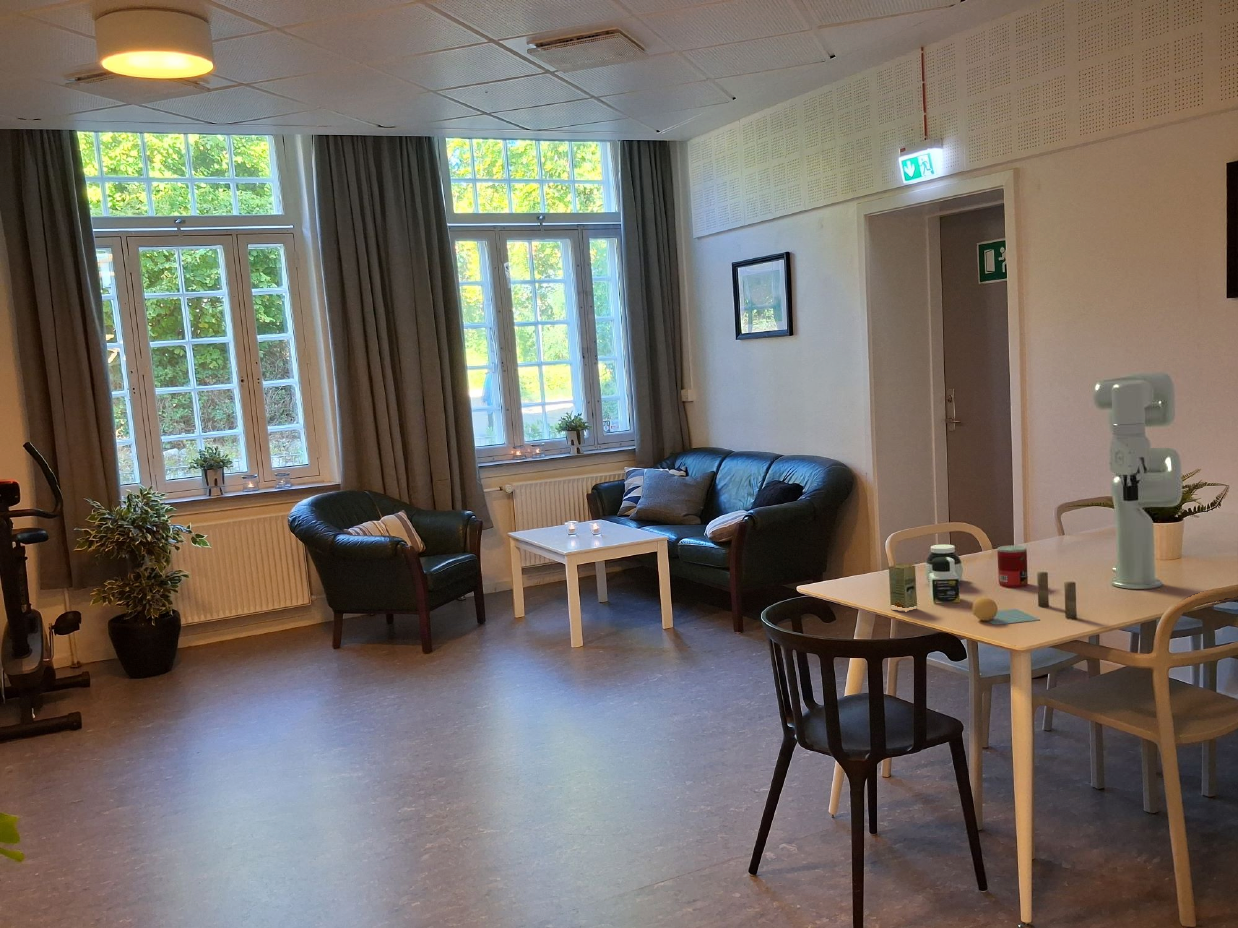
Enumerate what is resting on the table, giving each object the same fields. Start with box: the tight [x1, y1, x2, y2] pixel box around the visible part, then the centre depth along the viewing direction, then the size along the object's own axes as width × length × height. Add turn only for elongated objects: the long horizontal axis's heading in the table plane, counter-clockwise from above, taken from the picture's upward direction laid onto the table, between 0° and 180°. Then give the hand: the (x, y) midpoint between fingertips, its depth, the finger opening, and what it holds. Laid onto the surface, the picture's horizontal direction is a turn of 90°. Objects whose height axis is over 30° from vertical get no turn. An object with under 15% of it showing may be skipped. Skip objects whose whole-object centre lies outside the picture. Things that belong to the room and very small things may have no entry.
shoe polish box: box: [888, 563, 918, 608], centre depth 277 cm, size 5×5×12 cm
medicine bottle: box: [929, 557, 961, 603], centre depth 284 cm, size 7×7×12 cm
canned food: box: [997, 544, 1029, 589], centre depth 296 cm, size 8×8×11 cm
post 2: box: [1063, 581, 1078, 620], centre depth 257 cm, size 3×3×9 cm
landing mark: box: [972, 608, 1041, 626], centre depth 262 cm, size 12×12×1 cm
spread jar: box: [925, 544, 964, 584], centre depth 304 cm, size 12×11×12 cm
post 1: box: [1036, 571, 1050, 608], centre depth 270 cm, size 3×3×9 cm
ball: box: [972, 596, 999, 622], centre depth 261 cm, size 6×6×6 cm
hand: (1130, 500), depth 265 cm, fingers closed
